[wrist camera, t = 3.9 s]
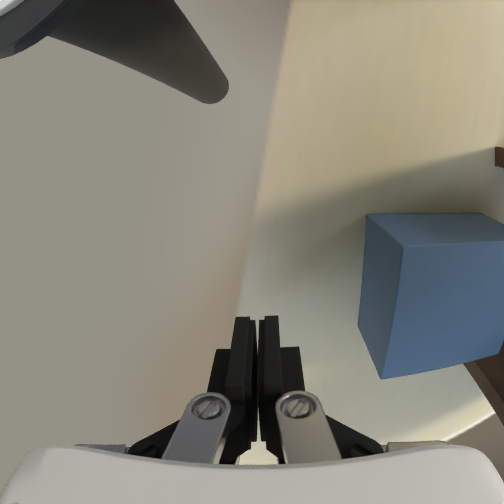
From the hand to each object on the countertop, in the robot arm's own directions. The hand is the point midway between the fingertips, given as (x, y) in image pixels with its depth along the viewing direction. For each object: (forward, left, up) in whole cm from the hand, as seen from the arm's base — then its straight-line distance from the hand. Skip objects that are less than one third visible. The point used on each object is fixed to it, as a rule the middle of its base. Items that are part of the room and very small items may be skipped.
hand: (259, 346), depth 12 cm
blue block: (+10, 0, -6) cm, 11 cm away
